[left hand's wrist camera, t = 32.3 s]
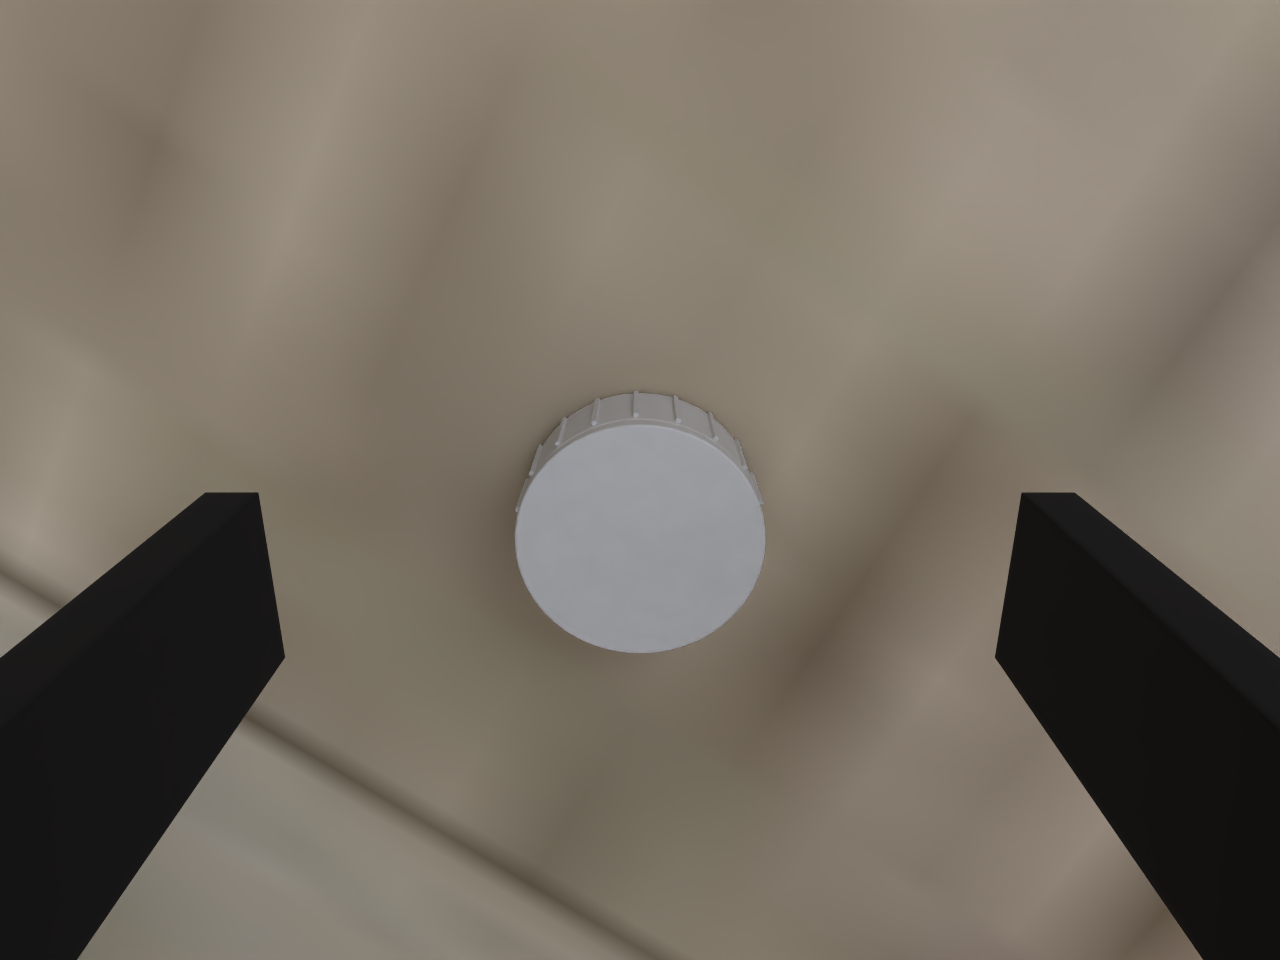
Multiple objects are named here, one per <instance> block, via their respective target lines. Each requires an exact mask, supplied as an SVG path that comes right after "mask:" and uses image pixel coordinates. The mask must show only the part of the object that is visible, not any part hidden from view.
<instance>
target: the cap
mask: <svg viewBox="0 0 1280 960" xmlns="http://www.w3.org/2000/svg"><path fill="white" fill-rule="evenodd" d="M528 475H530V476H529V478H526V479H525V482H524V485H523V488H522V491H521V494H520V497H519V500H518V503H517V506H516V510H515V512H518V513H517V518H516V525H515V552H516V560H517V563H518V567H519V570H520V574H521V576H522V579H523V581H524V583H525V585H526V588H527V589H528V591H529V593H530V594H531V596H532V598H533V599H534V601H535V602H536V603H537V604H538V606H539V607H540V608H541V609H542V611H543V612H544V613H545V614H546V615H547V616H548V617H549V618H550V619H551V620H552V621H553V622H554V623H556V624H557V625H558V626H560V627H561V628H562V629H564V630H565V631H566V632H568V633H570V634H571V635H573V636H575V637H577V638H578V639H580V640H582V641H585V642H587V643H590V644H592V645H594V646H598V647H601V648H604V649H608V650H613V651H618V652H624V653H656V652H662V651H668V650H673V649H676V648H679V647H683V646H686V645H688V644H691V643H693V642H695V641H698V640H700V639H702V638H704V637H705V636H707V635H709V634H711V633H712V632H714V631H715V630H717V629H718V628H719V627H721V626H722V625H723V624H725V623H726V622H727V621H728V620H729V619H730V618H731V617H732V616H733V615H734V614H735V613H736V612H737V611H738V610H739V609H740V607H741V606H742V605H743V603H744V602H745V601H746V600H747V598H748V596H749V595H750V593H751V591H752V590H753V588H754V586H755V584H756V581H757V579H758V577H759V574H760V572H761V568H762V564H763V560H764V554H765V546H766V531H765V523H764V517H763V512H762V509H761V506H760V505H762V504H763V500H762V497H761V494H760V491H759V488H758V485H757V482H756V479H755V476H754V473H753V471H751V472H749V470H748V467H747V464H746V461H745V458H744V455H743V452H742V449H741V446H740V443H739V441H738V439H737V438H736V439H733V438H732V436H731V435H730V434H729V433H728V432H727V431H726V430H725V428H724V427H723V426H722V425H721V424H719V423H718V422H717V421H716V420H715V419H714V417H713V414H712V413H710V412H708V414H707V413H705V412H704V411H702V410H701V409H699V408H697V407H695V406H693V405H691V404H689V403H687V402H685V401H682V400H679V399H678V396H675V395H673V397H669V396H664V395H659V394H650V393H639V391H634V393H631V394H621V395H616V396H611V397H607V398H604V399H601V400H600V398H596V399H595V402H593V403H591V404H589V405H587V406H585V407H583V408H581V409H579V410H578V411H576V412H575V413H573V414H572V415H570V416H569V417H568V418H566V417H565V416H564V417H563V418H562V419H561V422H560V425H559V426H557V428H556V429H555V430H554V431H553V432H552V433H551V434H550V436H549V437H548V438H547V440H546V441H545V443H544V444H543V446H542V445H540V444H539V446H538V447H537V450H536V453H535V456H534V459H533V462H532V465H531V468H530V471H529V474H528Z"/></svg>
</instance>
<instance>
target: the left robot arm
mask: <svg viewBox="0 0 1280 960" xmlns="http://www.w3.org/2000/svg"><path fill="white" fill-rule="evenodd" d="M284 658H285V654H284V648H283V642H282V636H281V630H280V623H279V617H278V611H277V605H276V599H275V593H274V586H273V580H272V574H271V568H270V562H269V556H268V549H267V543H266V537H265V531H264V525H263V518H262V512H261V506H260V500H259V494H258V493H204V494H203V495H202V496H201V497H199V498H198V499H197V500H196V501H194V502H193V503H192V504H191V505H189V506H188V507H187V508H186V509H184V510H183V511H182V512H181V513H180V514H178V515H177V516H176V517H175V518H173V519H172V520H171V521H170V522H168V523H167V524H166V525H165V526H163V527H162V528H161V529H160V530H158V531H157V532H156V533H155V534H153V535H152V536H151V537H150V538H149V539H147V540H146V541H145V542H144V543H142V544H141V545H140V546H139V547H137V548H136V549H135V550H134V551H132V552H131V553H130V554H129V555H127V556H126V557H125V558H124V559H122V560H121V561H120V562H119V563H118V564H116V565H115V566H114V567H113V568H111V569H110V570H109V571H108V572H106V573H105V574H104V575H103V576H101V577H100V578H99V579H98V580H96V581H95V582H94V583H93V584H91V585H90V586H89V587H88V588H87V589H85V590H84V591H83V592H82V593H80V594H79V595H78V596H77V597H75V598H74V599H73V600H72V601H70V602H69V603H68V604H67V605H65V606H64V607H63V608H62V609H61V610H59V611H58V612H57V613H56V614H54V615H53V616H52V617H51V618H49V619H48V620H47V621H46V622H44V623H43V624H42V625H41V626H39V627H38V628H37V629H36V630H34V631H33V632H32V633H31V634H30V635H28V636H27V637H26V638H25V639H23V640H22V641H21V642H20V643H18V644H17V645H16V646H15V647H13V648H12V649H11V650H10V651H8V652H7V653H6V654H5V655H3V656H2V657H1V658H0V960H77V959H78V957H79V956H80V954H81V953H82V951H83V950H84V949H85V947H86V946H87V944H88V943H89V941H90V940H91V938H92V937H93V935H94V934H95V933H96V931H97V930H98V928H99V927H100V925H101V924H102V922H103V921H104V920H105V918H106V917H107V915H108V914H109V912H110V911H111V909H112V908H113V906H114V905H115V904H116V902H117V901H118V899H119V898H120V896H121V895H122V893H123V892H124V890H125V889H126V888H127V886H128V885H129V883H130V882H131V880H132V879H133V877H134V876H135V874H136V873H137V872H138V870H139V869H140V867H141V866H142V864H143V863H144V861H145V860H146V859H147V857H148V856H149V854H150V853H151V851H152V850H153V848H154V847H155V845H156V844H157V843H158V841H159V840H160V838H161V837H162V835H163V834H164V832H165V831H166V829H167V828H168V827H169V825H170V824H171V822H172V821H173V819H174V818H175V816H176V815H177V814H178V812H179V811H180V809H181V808H182V806H183V805H184V803H185V802H186V800H187V799H188V798H189V796H190V795H191V793H192V792H193V790H194V789H195V787H196V786H197V784H198V783H199V782H200V780H201V779H202V777H203V776H204V774H205V773H206V771H207V770H208V768H209V767H210V766H211V764H212V763H213V761H214V760H215V758H216V757H217V755H218V754H219V753H220V751H221V750H222V748H223V747H224V745H225V744H226V742H227V741H228V739H229V738H230V737H231V735H232V734H233V732H234V731H235V729H236V728H237V726H238V725H239V723H240V722H241V721H242V719H243V718H244V716H245V715H246V713H247V712H248V710H249V709H250V708H251V706H252V705H253V703H254V702H255V700H256V699H257V697H258V696H259V694H260V693H261V692H262V690H263V689H264V687H265V686H266V684H267V683H268V681H269V680H270V678H271V677H272V676H273V674H274V673H275V671H276V670H277V668H278V667H279V665H280V664H281V663H282V661H283V660H284ZM995 658H996V660H997V661H998V662H999V664H1000V665H1001V667H1002V668H1003V670H1004V671H1005V673H1006V674H1007V676H1008V677H1009V678H1010V680H1011V681H1012V683H1013V684H1014V686H1015V687H1016V689H1017V690H1018V692H1019V693H1020V694H1021V696H1022V697H1023V699H1024V700H1025V702H1026V703H1027V705H1028V706H1029V707H1030V709H1031V710H1032V712H1033V713H1034V715H1035V716H1036V718H1037V719H1038V721H1039V722H1040V723H1041V725H1042V726H1043V728H1044V729H1045V731H1046V732H1047V734H1048V735H1049V737H1050V738H1051V739H1052V741H1053V742H1054V744H1055V745H1056V747H1057V748H1058V750H1059V751H1060V753H1061V754H1062V755H1063V757H1064V758H1065V760H1066V761H1067V763H1068V764H1069V766H1070V767H1071V768H1072V770H1073V771H1074V773H1075V774H1076V776H1077V777H1078V779H1079V780H1080V782H1081V783H1082V784H1083V786H1084V787H1085V789H1086V790H1087V792H1088V793H1089V795H1090V796H1091V798H1092V799H1093V800H1094V802H1095V803H1096V805H1097V806H1098V808H1099V809H1100V811H1101V812H1102V813H1103V815H1104V816H1105V818H1106V819H1107V821H1108V822H1109V824H1110V825H1111V827H1112V828H1113V829H1114V831H1115V832H1116V834H1117V835H1118V837H1119V838H1120V840H1121V841H1122V843H1123V844H1124V845H1125V847H1126V848H1127V850H1128V851H1129V853H1130V854H1131V856H1132V857H1133V858H1134V860H1135V861H1136V863H1137V864H1138V866H1139V867H1140V869H1141V870H1142V872H1143V873H1144V874H1145V876H1146V877H1147V879H1148V880H1149V882H1150V883H1151V885H1152V886H1153V888H1154V889H1155V890H1156V892H1157V893H1158V895H1159V896H1160V898H1161V899H1162V901H1163V902H1164V904H1165V905H1166V906H1167V908H1168V909H1169V911H1170V912H1171V914H1172V915H1173V917H1174V918H1175V919H1176V921H1177V922H1178V924H1179V925H1180V927H1181V928H1182V930H1183V931H1184V933H1185V934H1186V935H1187V937H1188V938H1189V940H1190V941H1191V943H1192V944H1193V946H1194V947H1195V949H1196V950H1197V951H1198V953H1199V954H1200V956H1201V957H1202V959H1203V960H1280V658H1279V657H1278V656H1277V655H1275V654H1274V653H1273V652H1272V651H1270V650H1269V649H1268V648H1267V647H1265V646H1264V645H1263V644H1262V643H1260V642H1259V641H1258V640H1257V639H1255V638H1254V637H1253V636H1252V635H1250V634H1249V633H1248V632H1247V631H1246V630H1244V629H1243V628H1242V627H1241V626H1239V625H1238V624H1237V623H1236V622H1234V621H1233V620H1232V619H1231V618H1229V617H1228V616H1227V615H1226V614H1224V613H1223V612H1222V611H1221V610H1220V609H1218V608H1217V607H1216V606H1215V605H1213V604H1212V603H1211V602H1210V601H1208V600H1207V599H1206V598H1205V597H1203V596H1202V595H1201V594H1200V593H1198V592H1197V591H1196V590H1195V589H1193V588H1192V587H1191V586H1190V585H1189V584H1187V583H1186V582H1185V581H1184V580H1182V579H1181V578H1180V577H1179V576H1177V575H1176V574H1175V573H1174V572H1172V571H1171V570H1170V569H1169V568H1167V567H1166V566H1165V565H1164V564H1162V563H1161V562H1160V561H1159V560H1158V559H1156V558H1155V557H1154V556H1153V555H1151V554H1150V553H1149V552H1148V551H1146V550H1145V549H1144V548H1143V547H1141V546H1140V545H1139V544H1138V543H1136V542H1135V541H1134V540H1133V539H1132V538H1130V537H1129V536H1128V535H1127V534H1125V533H1124V532H1123V531H1122V530H1120V529H1119V528H1118V527H1117V526H1115V525H1114V524H1113V523H1112V522H1110V521H1109V520H1108V519H1107V518H1105V517H1104V516H1103V515H1102V514H1101V513H1099V512H1098V511H1097V510H1096V509H1094V508H1093V507H1092V506H1091V505H1089V504H1088V503H1087V502H1086V501H1084V500H1083V499H1082V498H1081V497H1079V496H1078V495H1077V494H1076V493H1022V494H1021V500H1020V506H1019V512H1018V519H1017V525H1016V531H1015V537H1014V543H1013V549H1012V556H1011V562H1010V568H1009V574H1008V580H1007V586H1006V593H1005V599H1004V605H1003V611H1002V617H1001V623H1000V630H999V636H998V642H997V648H996V654H995Z"/></svg>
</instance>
